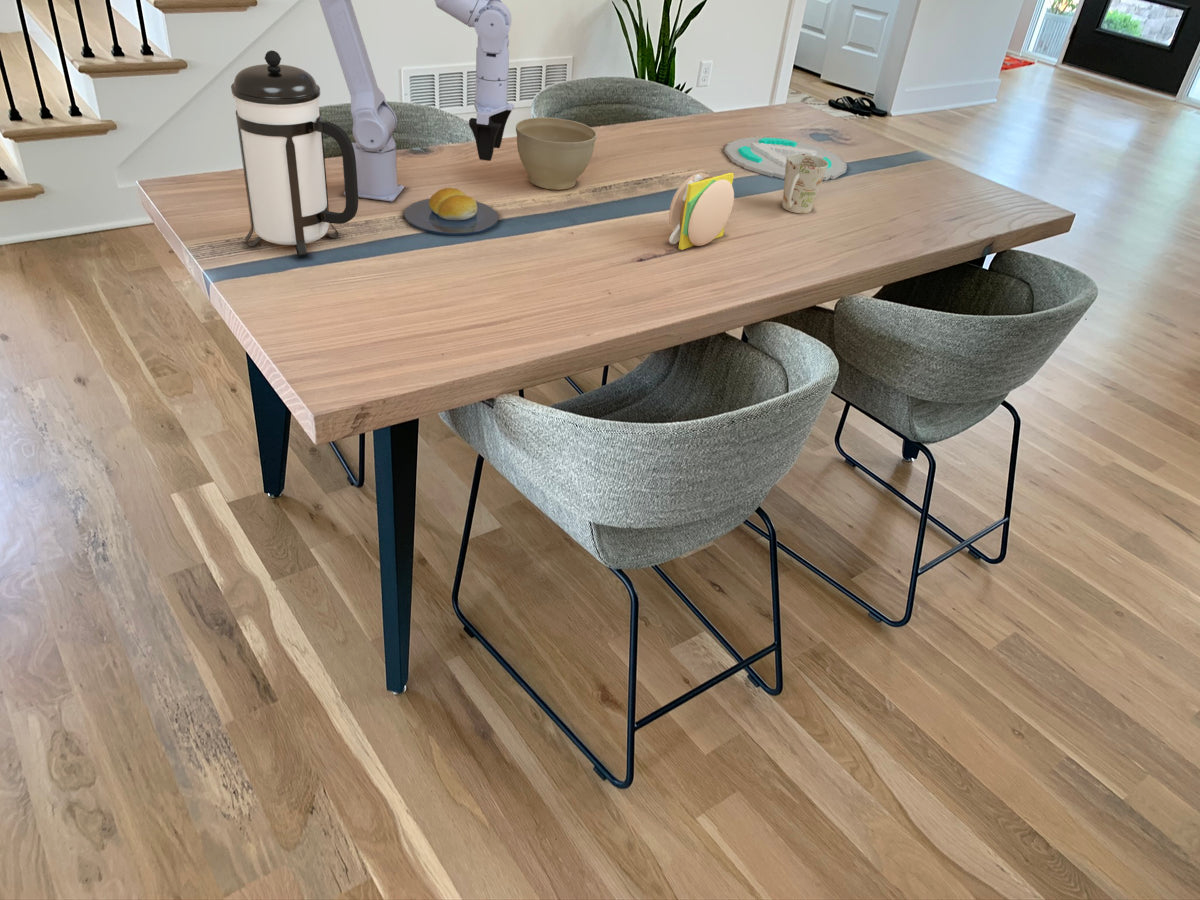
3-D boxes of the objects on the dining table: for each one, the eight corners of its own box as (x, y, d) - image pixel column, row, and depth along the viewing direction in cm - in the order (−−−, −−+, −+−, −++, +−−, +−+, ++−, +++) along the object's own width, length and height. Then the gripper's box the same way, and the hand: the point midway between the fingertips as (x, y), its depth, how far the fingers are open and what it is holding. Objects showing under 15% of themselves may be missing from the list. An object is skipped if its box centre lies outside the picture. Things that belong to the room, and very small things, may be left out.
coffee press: (251, 266, 142) (223, 65, 124) (241, 226, 153) (213, 38, 136) (362, 257, 148) (350, 65, 131) (344, 219, 160) (331, 39, 142)
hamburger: (698, 225, 174) (708, 163, 167) (732, 240, 169) (743, 177, 162) (657, 238, 167) (665, 174, 160) (690, 254, 162) (701, 189, 155)
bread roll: (449, 225, 161) (448, 203, 159) (422, 208, 166) (421, 187, 164) (487, 217, 166) (487, 196, 163) (460, 200, 171) (460, 180, 169)
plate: (392, 228, 159) (392, 225, 159) (419, 195, 173) (419, 192, 172) (487, 241, 158) (487, 238, 158) (506, 206, 172) (506, 204, 172)
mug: (820, 207, 189) (832, 159, 183) (805, 225, 179) (817, 176, 173) (782, 197, 191) (793, 150, 185) (766, 215, 182) (776, 166, 176)
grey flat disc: (760, 133, 228) (761, 127, 227) (862, 163, 216) (864, 156, 215) (704, 156, 209) (705, 149, 208) (813, 189, 197) (815, 182, 196)
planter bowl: (576, 202, 177) (580, 147, 171) (501, 186, 181) (502, 131, 174) (602, 179, 190) (607, 126, 184) (531, 163, 193) (534, 112, 187)
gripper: (505, 90, 153) (503, 168, 161) (521, 70, 165) (518, 144, 173) (465, 84, 154) (464, 163, 162) (484, 65, 165) (482, 139, 173)
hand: (489, 153), depth 167 cm, fingers open, 7 cm apart
